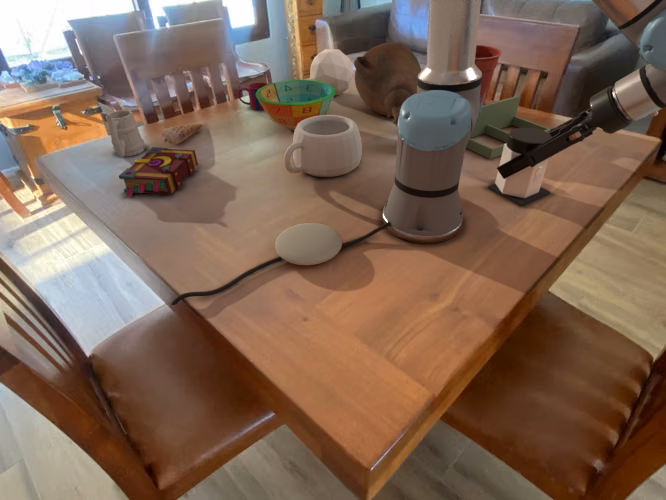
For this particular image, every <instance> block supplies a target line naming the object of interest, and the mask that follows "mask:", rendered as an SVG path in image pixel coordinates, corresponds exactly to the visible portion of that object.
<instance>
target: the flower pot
mask: <svg viewBox="0 0 666 500" xmlns="http://www.w3.org/2000/svg"><path fill="white" fill-rule="evenodd" d="M502 55H503V51H502V50H501V49H499V48H497V47H494V46H489V45H483V44H477V45H476V54H475V65H476V66H477V68H478V69H479V70H480V71H481V72H482V80H481V89H480V97H481V106H482V105H485V103H486V99H487V96H488V93H489V89H490V86H491V82H492V78H493V75H494V73H495V72H494V71H495V69H496V68H497V65H498V62H499V58H500V57H501V56H502Z"/></svg>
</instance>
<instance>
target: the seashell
mask: <svg viewBox="0 0 666 500" xmlns="http://www.w3.org/2000/svg"><path fill="white" fill-rule="evenodd" d="M204 125H205V123H197V124H184V125H177V126H176V125H175V126H171V127H167V128H165V129H163V130H162V131H161V136H162V137H163V138H164V139H163V142H164V143H169V144H170V145H178V144H181V143H182V142H184V141H185V140H187V139H188V138H190V137H191V136H193V135H195V133H197V131H199V130H200V129H201V128H202V127H203V126H204Z"/></svg>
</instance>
